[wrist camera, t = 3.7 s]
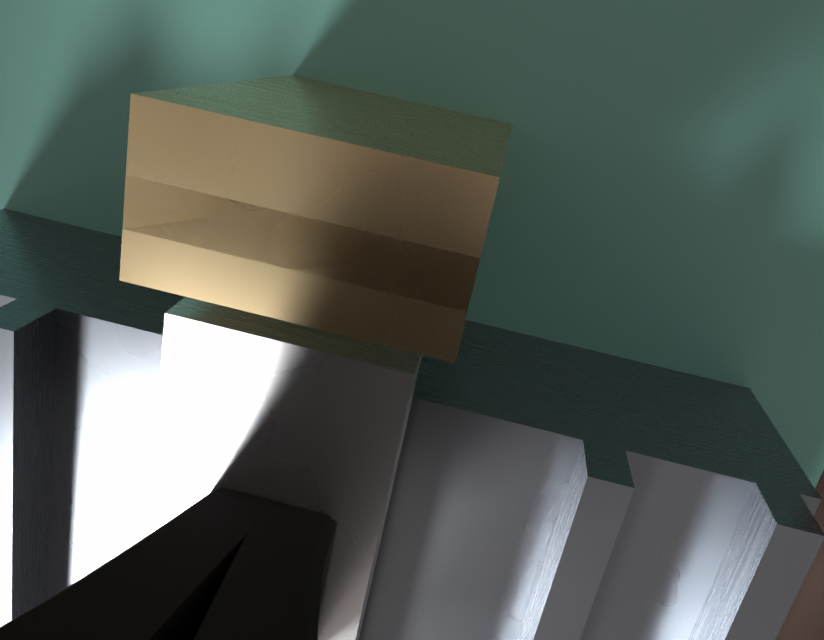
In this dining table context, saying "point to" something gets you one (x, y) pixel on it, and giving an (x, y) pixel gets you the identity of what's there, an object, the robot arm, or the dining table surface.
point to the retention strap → (284, 431)
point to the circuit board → (513, 153)
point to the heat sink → (433, 396)
